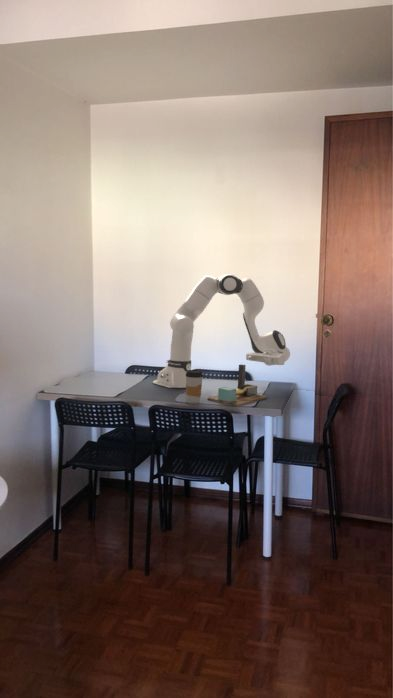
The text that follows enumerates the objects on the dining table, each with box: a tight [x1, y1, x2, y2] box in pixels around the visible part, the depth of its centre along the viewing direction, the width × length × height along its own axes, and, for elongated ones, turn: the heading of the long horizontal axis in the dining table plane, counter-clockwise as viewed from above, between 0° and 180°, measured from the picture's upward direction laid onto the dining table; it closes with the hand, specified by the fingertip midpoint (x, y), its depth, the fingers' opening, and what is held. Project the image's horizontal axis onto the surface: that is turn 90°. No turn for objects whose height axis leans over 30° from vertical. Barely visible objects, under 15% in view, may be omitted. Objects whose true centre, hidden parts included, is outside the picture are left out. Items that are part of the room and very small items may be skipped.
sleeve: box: [236, 383, 258, 397], centre depth 298 cm, size 6×9×4 cm
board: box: [207, 394, 267, 407], centre depth 292 cm, size 18×26×1 cm
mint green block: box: [217, 386, 237, 402], centre depth 284 cm, size 7×5×6 cm
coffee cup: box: [185, 369, 204, 404], centre depth 281 cm, size 8×8×15 cm
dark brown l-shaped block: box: [235, 363, 251, 396], centre depth 294 cm, size 3×14×15 cm, turn 142°
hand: (256, 359), depth 302 cm, fingers open, 8 cm apart
